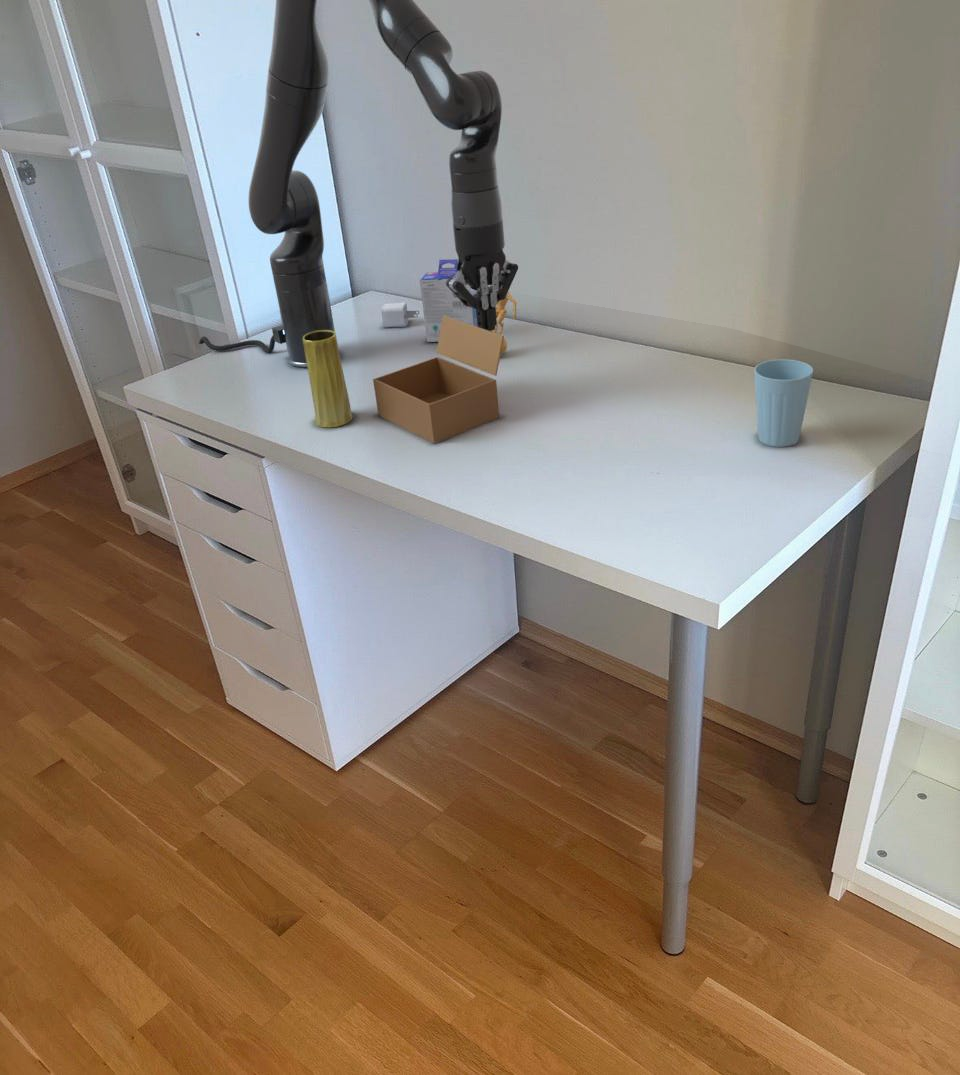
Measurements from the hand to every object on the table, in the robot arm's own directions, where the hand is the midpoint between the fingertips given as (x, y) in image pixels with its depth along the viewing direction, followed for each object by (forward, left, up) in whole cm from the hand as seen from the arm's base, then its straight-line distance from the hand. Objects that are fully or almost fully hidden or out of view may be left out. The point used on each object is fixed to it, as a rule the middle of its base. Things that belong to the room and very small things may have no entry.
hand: (487, 330), depth 157 cm
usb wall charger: (-43, +11, -11) cm, 46 cm away
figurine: (-14, +13, -11) cm, 22 cm away
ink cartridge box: (-28, +13, -11) cm, 33 cm away
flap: (0, -4, -1) cm, 4 cm away
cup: (+44, +17, -11) cm, 48 cm away
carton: (0, -11, -11) cm, 16 cm away
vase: (-12, -23, -11) cm, 29 cm away
